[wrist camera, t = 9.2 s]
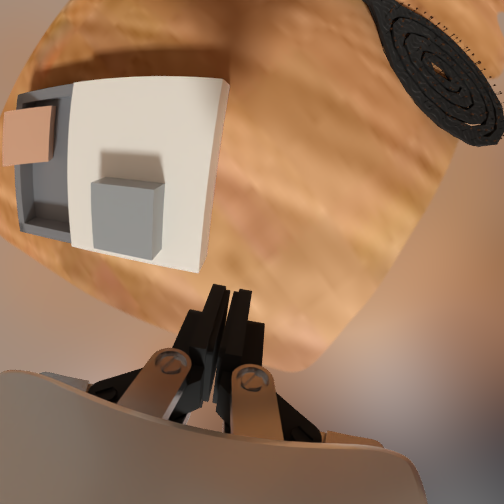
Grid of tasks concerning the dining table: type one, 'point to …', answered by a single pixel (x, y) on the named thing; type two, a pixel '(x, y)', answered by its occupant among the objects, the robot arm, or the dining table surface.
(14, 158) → the terracotta tile
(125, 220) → the slate tile
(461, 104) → the hairbrush
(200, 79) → the board
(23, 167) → the tray
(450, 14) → the dining table surface
